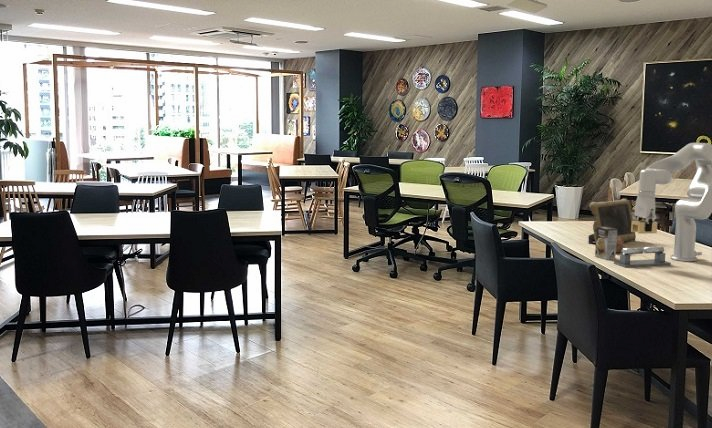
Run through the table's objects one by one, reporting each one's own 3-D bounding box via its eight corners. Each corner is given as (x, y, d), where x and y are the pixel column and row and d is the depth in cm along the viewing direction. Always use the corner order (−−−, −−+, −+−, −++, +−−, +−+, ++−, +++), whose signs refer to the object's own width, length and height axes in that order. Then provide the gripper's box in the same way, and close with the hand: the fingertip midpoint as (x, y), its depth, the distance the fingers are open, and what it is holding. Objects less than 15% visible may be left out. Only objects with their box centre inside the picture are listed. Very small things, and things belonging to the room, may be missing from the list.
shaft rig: (658, 261, 338) (659, 245, 337) (670, 265, 330) (671, 248, 328) (613, 263, 333) (614, 247, 331) (624, 267, 324) (626, 250, 323)
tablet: (606, 247, 375) (608, 203, 372) (584, 243, 386) (587, 201, 383) (637, 241, 395) (639, 199, 391) (616, 237, 406) (618, 197, 402)
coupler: (638, 233, 324) (639, 221, 324) (630, 231, 330) (631, 220, 330) (656, 233, 327) (657, 221, 326) (648, 231, 333) (649, 219, 332)
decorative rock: (602, 248, 371) (603, 231, 370) (623, 250, 367) (624, 232, 366) (601, 253, 359) (602, 235, 358) (623, 254, 355) (624, 236, 354)
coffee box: (594, 256, 350) (596, 226, 347) (604, 255, 352) (606, 226, 349) (605, 260, 341) (607, 229, 339) (616, 259, 343) (617, 228, 341)
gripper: (629, 192, 333) (626, 227, 336) (651, 196, 317) (648, 233, 319) (642, 192, 335) (639, 227, 338) (665, 196, 319) (662, 233, 321)
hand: (643, 230), depth 328 cm, fingers closed on coupler, 6 cm apart
